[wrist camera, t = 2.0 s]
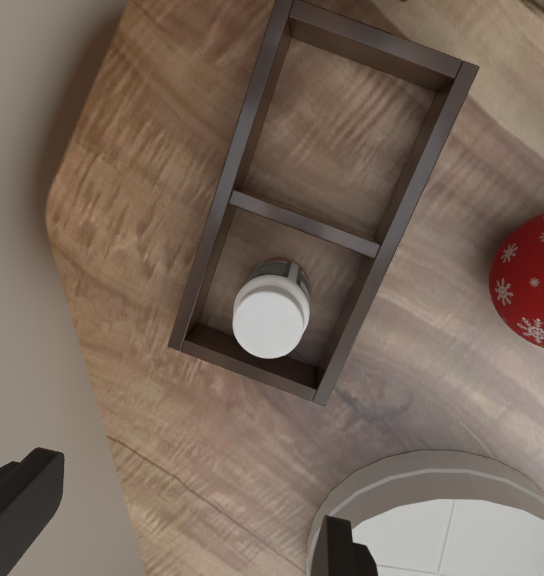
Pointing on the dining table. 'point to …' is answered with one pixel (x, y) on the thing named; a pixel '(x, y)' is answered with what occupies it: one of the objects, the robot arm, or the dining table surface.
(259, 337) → the pill bottle
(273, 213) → the rack
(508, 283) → the christmas ornament
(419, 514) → the dish
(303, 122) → the dining table surface
